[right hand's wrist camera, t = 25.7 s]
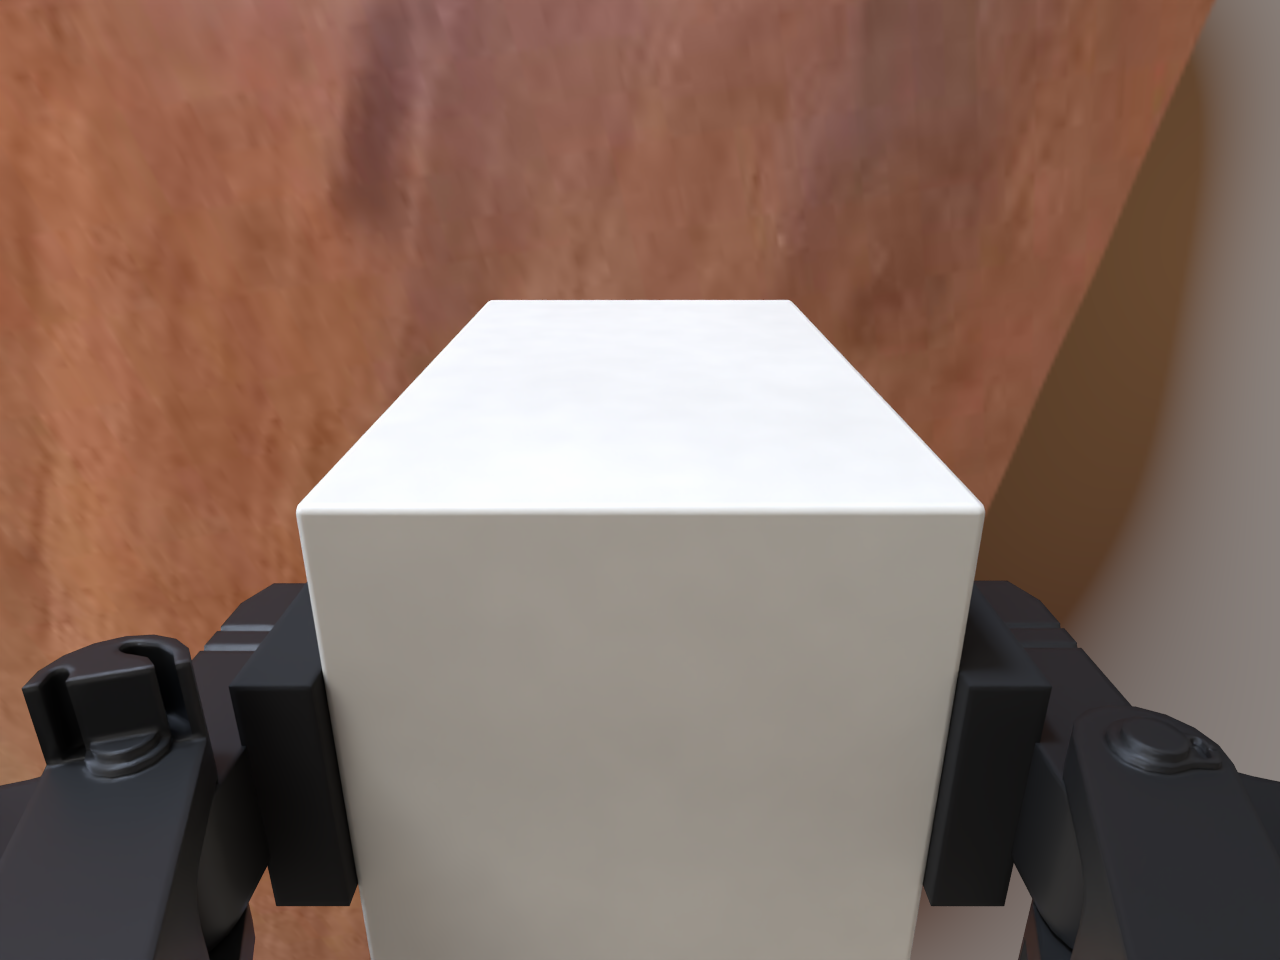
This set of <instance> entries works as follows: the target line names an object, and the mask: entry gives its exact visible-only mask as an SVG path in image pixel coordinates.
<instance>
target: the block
mask: <svg viewBox="0 0 1280 960" xmlns="http://www.w3.org/2000/svg"><path fill="white" fill-rule="evenodd" d="M296 516H297V522H298V528H299V534H300V540H301V546H302V552H303V558H304V564H305V570H306V576H307V582H308V588H309V594H310V599H311V605H312V611H313V617H314V623H315V629H316V635H317V641H318V647H319V653H320V659H321V665H322V671H323V677H324V683H325V689H326V695H327V701H328V707H329V713H330V718H331V724H332V730H333V736H334V742H335V748H336V754H337V760H338V766H339V772H340V778H341V784H342V790H343V796H344V802H345V808H346V814H347V820H348V826H349V832H350V838H351V843H352V849H353V855H354V861H355V867H356V873H357V879H358V885H359V891H360V897H361V903H362V909H363V915H364V921H365V927H366V933H367V939H368V945H369V951H370V957H371V960H910V956H911V950H912V944H913V939H914V932H915V927H916V921H917V915H918V909H919V903H920V897H921V891H922V885H923V879H924V873H925V867H926V861H927V855H928V850H929V844H930V838H931V832H932V826H933V820H934V814H935V808H936V802H937V796H938V790H939V784H940V778H941V772H942V766H943V760H944V754H945V749H946V743H947V737H948V731H949V725H950V719H951V713H952V707H953V701H954V695H955V689H956V683H957V677H958V671H959V665H960V659H961V654H962V648H963V642H964V636H965V630H966V624H967V618H968V612H969V606H970V600H971V594H972V588H973V582H974V576H975V570H976V564H977V558H978V552H979V547H980V541H981V535H982V529H983V523H984V517H985V509H984V506H983V504H982V503H981V502H980V501H979V500H978V499H977V498H976V497H975V496H974V495H973V494H972V492H971V491H970V490H969V489H968V488H967V487H966V486H965V485H964V484H963V483H962V482H961V481H960V480H959V479H958V478H957V477H956V475H955V474H954V473H953V472H952V471H951V470H950V469H949V468H948V467H947V466H946V465H945V464H944V463H943V462H942V461H941V460H940V459H939V457H938V456H937V455H936V454H935V453H934V452H933V451H932V450H931V449H930V448H929V447H928V446H927V445H926V444H925V443H924V442H923V440H922V439H921V438H920V437H919V436H918V435H917V434H916V433H915V432H914V431H913V430H912V429H911V428H910V427H909V426H908V425H907V423H906V422H905V421H904V420H903V419H902V418H901V417H900V416H899V415H898V414H897V413H896V412H895V411H894V410H893V409H892V408H891V406H890V405H889V404H888V403H887V402H886V401H885V400H884V399H883V398H882V397H881V396H880V395H879V394H878V393H877V392H876V391H875V390H874V388H873V387H872V386H871V385H870V384H869V383H868V382H867V381H866V380H865V379H864V378H863V377H862V376H861V375H860V374H859V373H858V371H857V370H856V369H855V368H854V367H853V366H852V365H851V364H850V363H849V362H848V361H847V360H846V359H845V358H844V357H843V356H842V354H841V353H840V352H839V351H838V350H837V349H836V348H835V347H834V346H833V345H832V344H831V343H830V342H829V341H828V340H827V339H826V338H825V336H824V335H823V334H822V333H821V332H820V331H819V330H818V329H817V328H816V327H815V326H814V325H813V324H812V323H811V322H810V321H809V319H808V318H807V317H806V316H805V315H804V314H803V313H802V312H801V311H800V310H799V309H798V308H797V307H796V306H795V305H794V304H793V302H792V301H789V300H491V301H489V302H488V303H487V304H486V305H485V306H484V307H483V308H482V309H481V310H480V311H479V312H478V313H477V314H476V315H475V316H474V318H473V319H472V320H471V321H470V322H469V323H468V324H467V325H466V326H465V327H464V328H463V329H462V330H461V331H460V332H459V334H458V335H457V336H456V337H455V338H454V339H453V340H452V341H451V342H450V343H449V344H448V345H447V346H446V347H445V349H444V350H443V351H442V352H441V353H440V354H439V355H438V356H437V357H436V358H435V359H434V360H433V361H432V362H431V363H430V365H429V366H428V367H427V368H426V369H425V370H424V371H423V372H422V373H421V374H420V375H419V376H418V377H417V378H416V379H415V381H414V382H413V383H412V384H411V385H410V386H409V387H408V388H407V389H406V390H405V391H404V392H403V393H402V394H401V396H400V397H399V398H398V399H397V400H396V401H395V402H394V403H393V404H392V405H391V406H390V407H389V408H388V409H387V410H386V412H385V413H384V414H383V415H382V416H381V417H380V418H379V419H378V420H377V421H376V422H375V423H374V424H373V425H372V427H371V428H370V429H369V430H368V431H367V432H366V433H365V434H364V435H363V436H362V437H361V438H360V439H359V440H358V441H357V443H356V444H355V445H354V446H353V447H352V448H351V449H350V450H349V451H348V452H347V453H346V454H345V455H344V456H343V457H342V459H341V460H340V461H339V462H338V463H337V464H336V465H335V466H334V467H333V468H332V469H331V470H330V471H329V472H328V474H327V475H326V476H325V477H324V478H323V479H322V480H321V481H320V482H319V483H318V484H317V485H316V486H315V487H314V488H313V490H312V491H311V492H310V493H309V494H308V495H307V496H306V497H305V498H304V499H303V500H302V501H301V502H300V503H299V504H298V507H297V510H296Z"/></svg>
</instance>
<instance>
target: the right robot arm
mask: <svg viewBox="0 0 1280 960" xmlns="http://www.w3.org/2000/svg"><path fill="white" fill-rule="evenodd" d="M22 691H23V694H24V697H25V700H26V703H27V706H28V710H29V713H30V716H31V719H32V722H33V725H34V728H35V731H36V734H37V737H38V740H39V743H40V746H41V749H42V752H43V755H44V758H45V761H46V764H47V766H46V768H45V770H44V772H43V774H42V776H41V777H38V778H34V779H30V780H26V781H21V782H16V783H11V784H6V785H2V786H0V960H253V951H254V943H255V934H254V927H253V920H252V916H251V911H250V907H249V903H248V902H249V900H250V899H251V897H252V895H253V893H254V891H255V889H256V887H257V885H258V883H259V881H260V879H261V877H262V875H263V873H264V871H265V869H266V867H267V865H268V870H269V874H270V879H271V884H272V888H273V893H274V897H275V902H276V906H350V903H351V901H352V898H353V895H354V893H355V890H356V887H357V885H358V879H357V873H356V867H355V861H354V855H353V849H352V843H351V838H350V832H349V826H348V820H347V814H346V808H345V802H344V796H343V790H342V784H341V778H340V772H339V766H338V760H337V754H336V748H335V742H334V736H333V730H332V724H331V718H330V713H329V707H328V701H327V695H326V689H325V683H324V677H323V671H322V665H321V659H320V653H319V647H318V641H317V635H316V629H315V623H314V617H313V611H312V605H311V599H310V594H309V588H308V582H307V583H274V584H272V585H270V586H269V587H267V588H266V589H264V590H262V591H261V592H259V593H257V594H256V595H254V596H252V597H251V598H249V599H247V600H246V601H244V602H242V603H241V604H240V605H239V606H238V608H237V609H236V610H235V611H234V612H233V613H232V614H231V616H230V617H229V618H228V619H227V620H226V621H225V623H224V624H223V625H222V626H221V631H217V632H216V633H215V634H214V635H213V637H212V638H211V639H210V640H209V641H208V642H207V643H206V645H205V646H204V651H200V652H199V653H198V654H197V655H196V656H195V657H194V659H193V660H191V656H190V652H189V648H188V647H186V646H185V645H184V644H182V643H181V642H180V641H178V640H177V639H174V638H169V637H164V636H158V635H140V636H125V637H121V638H116V639H112V640H107V641H103V642H99V643H94V644H92V645H89V646H87V647H84V648H82V649H79V650H77V651H74V652H72V653H69V654H66V655H64V656H62V657H61V658H59V659H57V660H56V661H54V662H52V663H51V664H49V665H47V666H46V667H44V668H43V669H41V670H39V671H38V672H37V673H36V674H35V675H34V676H33V677H32V678H31V679H30V680H29V681H28V682H27V683H26V685H25V686H24V687H23V688H22ZM1013 864H1015V866H1016V868H1017V870H1018V872H1019V873H1020V875H1021V877H1022V879H1023V881H1024V883H1025V885H1026V887H1027V889H1028V891H1029V893H1030V895H1031V897H1032V903H1031V907H1030V911H1029V916H1028V920H1027V924H1026V928H1025V933H1024V937H1023V941H1022V945H1021V950H1020V954H1019V958H1018V960H1280V782H1278V781H1273V780H1268V779H1263V778H1258V777H1254V776H1250V775H1246V774H1242V773H1238V772H1237V770H1236V768H1235V766H1234V764H1233V763H1232V761H1231V760H1230V759H1229V758H1228V756H1227V755H1226V754H1225V753H1224V751H1223V750H1222V749H1221V748H1220V746H1219V745H1218V744H1216V743H1215V742H1214V741H1212V740H1211V739H1209V738H1208V737H1207V736H1205V735H1204V734H1202V733H1201V732H1200V731H1198V730H1197V729H1195V728H1194V727H1192V726H1189V725H1187V724H1185V723H1183V722H1181V721H1178V720H1176V719H1174V718H1172V717H1170V716H1168V715H1165V714H1161V713H1158V712H1154V711H1150V710H1146V709H1142V708H1139V707H1133V706H1131V705H1130V703H1129V702H1128V701H1127V700H1126V699H1125V698H1124V697H1123V695H1122V694H1121V693H1120V692H1119V691H1118V690H1117V688H1116V687H1115V686H1114V685H1113V684H1112V683H1111V682H1110V680H1109V679H1108V678H1107V677H1106V676H1105V675H1104V674H1103V672H1102V671H1101V670H1100V669H1099V668H1098V667H1097V665H1096V664H1095V663H1094V662H1093V661H1092V660H1091V659H1090V657H1089V656H1088V655H1087V654H1086V653H1085V652H1084V651H1083V649H1082V648H1077V642H1076V641H1075V640H1074V639H1073V638H1072V637H1071V636H1070V634H1069V633H1068V632H1067V631H1066V630H1065V629H1064V628H1060V623H1059V622H1058V621H1057V619H1056V618H1055V617H1054V616H1053V615H1052V614H1051V613H1050V611H1049V610H1048V609H1047V608H1046V607H1045V606H1044V605H1043V603H1042V602H1041V601H1040V600H1038V599H1037V598H1035V597H1033V596H1032V595H1030V594H1028V593H1027V592H1025V591H1023V590H1022V589H1020V588H1018V587H1017V586H1015V585H1013V584H1012V583H1010V582H1008V581H974V582H973V588H972V594H971V600H970V606H969V612H968V618H967V624H966V630H965V636H964V642H963V648H962V654H961V659H960V665H959V671H958V677H957V683H956V689H955V695H954V701H953V707H952V713H951V719H950V725H949V731H948V737H947V743H946V749H945V754H944V760H943V766H942V772H941V778H940V784H939V790H938V796H937V802H936V808H935V814H934V820H933V826H932V832H931V838H930V844H929V850H928V855H927V861H926V867H925V873H924V879H923V886H924V889H925V891H926V894H927V897H928V899H929V902H930V904H931V906H1004V904H1005V900H1006V895H1007V891H1008V886H1009V882H1010V877H1011V873H1012V868H1013Z"/></svg>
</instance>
